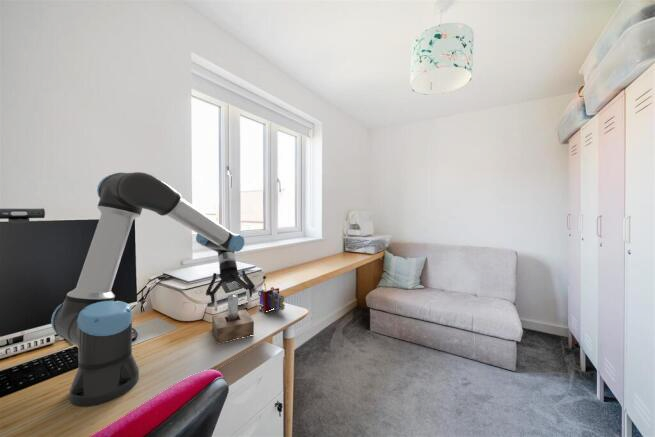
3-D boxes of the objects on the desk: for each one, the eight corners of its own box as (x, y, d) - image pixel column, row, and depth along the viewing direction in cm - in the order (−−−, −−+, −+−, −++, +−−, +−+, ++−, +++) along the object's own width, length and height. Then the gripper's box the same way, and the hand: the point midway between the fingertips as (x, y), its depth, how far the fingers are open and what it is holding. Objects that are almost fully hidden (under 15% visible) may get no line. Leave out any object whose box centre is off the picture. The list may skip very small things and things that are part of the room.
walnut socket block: (216, 344, 99) (217, 328, 99) (212, 328, 111) (212, 315, 111) (253, 335, 106) (253, 321, 106) (245, 322, 118) (245, 309, 118)
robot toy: (267, 304, 143) (291, 312, 130) (252, 309, 136) (277, 317, 123) (266, 273, 143) (290, 277, 130) (251, 276, 136) (275, 281, 123)
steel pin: (228, 331, 106) (228, 297, 106) (226, 327, 109) (227, 295, 109) (238, 329, 108) (239, 296, 108) (236, 325, 112) (237, 293, 111)
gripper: (252, 266, 130) (260, 305, 118) (197, 270, 118) (200, 315, 106) (255, 257, 126) (264, 298, 114) (198, 261, 113) (201, 307, 101)
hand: (233, 306), depth 110 cm, fingers open, 13 cm apart
